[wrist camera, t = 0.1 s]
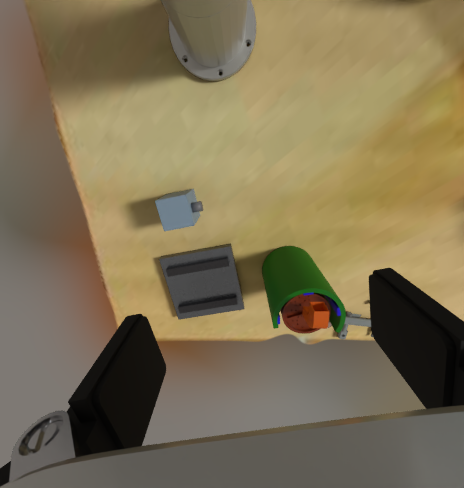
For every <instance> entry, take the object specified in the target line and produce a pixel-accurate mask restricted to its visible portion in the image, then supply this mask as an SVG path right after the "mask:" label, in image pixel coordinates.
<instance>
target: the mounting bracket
mask: <svg viewBox="0 0 464 488" xmlns="http://www.w3.org/2000/svg"><path fill="white" fill-rule="evenodd" d="M159 260H160V263H161V267H162V270H163V273H164V276H165V279H166V282H167V285H168V288H169V291H170V294H171V297H172V300H173V303H174V307H175V310H176V313H177V316H178V319H185V318H191V317H198V316H204V315H210V314H216V313H223V312H229V311H235V310H241V309H244V302H243V297H242V293H241V288H240V283H239V279H238V274H237V269H236V265H235V260H234V255H233V251H232V246H231V244H226V245H220V246H215V247H209V248H204V249H198V250H193V251H187V252H182V253H177V254H171V255H166V256H161V257H160V259H159Z"/></svg>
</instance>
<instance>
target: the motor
mask: <svg viewBox="0 0 464 488" xmlns="http://www.w3.org/2000/svg"><path fill="white" fill-rule="evenodd" d="M262 274H263V279H264V284H265V289H266V294H267V298H268V303H269V308H270V313H271V317H272V322H273V327H274V328H278V324H280V315H279V312H280V311H281V314H282V318H283V321H284V323H285V325H286V326H287V327H288V328H289V329H290V330H292V331H294V332H297V333H312V332H315V331H317V330H319V329H321V328H327V327H328V323H329V321H330V322H331V324H332V326H333V328H334V330H335V331H336V332H338V333H340V331H341V330H342V328H343V326H344V323H345V319H346V312H345V308H344V305H343V303H342V302H341V300H340V299H339V297H338V296H337V295H336V293H335V292H334V290H333V289H332V287H331V286H330V284H329V283H328V281H327V280H326V279H325V277H324V276H323V274H322V273H321V271H320V270H319V268H318V267H317V266H316V264H315V263H314V261H313V260H312V258H311V257H310V255H309V254H308V253H307V252H306V251H304V250H303V249H301V248H298V247H294V246H285V247H281V248H278V249H276V250H274V251H273V252H271V253H270V254H269V255H268V256H267V258H266V259H265V261H264V263H263V267H262ZM302 326H303V327H302Z"/></svg>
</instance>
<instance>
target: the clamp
mask: <svg viewBox="0 0 464 488" xmlns="http://www.w3.org/2000/svg"><path fill="white" fill-rule="evenodd" d="M360 316H361V315H358V314H352V313H351V312H346V319H345V323H344V326H343V328H342V330H341V331H340V333H338V337H339V338H340V339H345V338H346V335H347V332H348V331H347V327H348V324H349V325H358V326H367V327H371V319H363V318H360ZM331 326H332V324H331V322H330V321H329V323H328V328H329V327H331ZM371 337H373V335H372V334H371Z"/></svg>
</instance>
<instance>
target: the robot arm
mask: <svg viewBox="0 0 464 488" xmlns="http://www.w3.org/2000/svg"><path fill="white" fill-rule="evenodd" d="M161 2H162V4H163V6H164V8H165V10H166V12H167V14H168V16H169V35H170V40H171V44H172V47H173V50H174V52H175V54H176V56H177V58H178V59H179V61H180V62H181V64H182V65H183V66H184V67H185V68H186V69H187V70H188V71H189V72H190V73H192V74H193V75H194V76H196V77H198V78H200V79H203V80H207V81H220V80H224V79H227V78H229V77H231V76H233V75H234V74H236V73H237V72H238V71H239V70H240V69H241V68H242V67H243V66H244V65H245V63H246V62H247V60H248V59H249V57H250V54H251V52H252V50H253V46H254V42H255V36H256V18H255V12H254V8H253V5H252V2H251V0H161ZM247 44H250V46H249V47H247ZM185 59H187V60H188V61H187V62H185ZM220 72H221V73H222V75H221V76H220V75H219V73H220ZM369 293H370V314H371V331H372V335H373V337H374V339H375V340H376V342H377V343H378V344H379V346H380V347H381V349H382V350H383V351H384V353H385V354H386V355H387V357H388V358H389V359H390V361H391V362H392V363H393V365H394V366H395V367H396V369H397V370H398V371H399V373H400V374H401V375H402V377H403V378H404V379H405V381H406V382H407V383H408V385H409V386H410V387H411V389H412V390H413V391H414V393H415V394H416V396H417V397H418V398H419V400H420V401H421V402H422V404H423V405H424V406H425V407H426V409H423V410H413V411H404V412H394V413H386V414H379V415H371V416H363V417H355V418H347V419H340V420H331V421H324V422H316V423H308V424H300V425H293V426H285V427H278V428H270V429H263V430H255V431H248V432H241V433H233V434H225V435H219V436H212V437H204V438H197V439H189V440H183V441H175V442H168V443H161V444H153V445H146V446H142V443H143V440H144V437H145V434H146V431H147V428H148V425H149V422H150V419H151V416H152V413H153V410H154V407H155V404H156V401H157V397H158V395H159V392H160V388H161V385H162V382H163V379H164V376H165V373H166V364H165V362H164V359H163V356H162V354H161V351H160V349H159V346H158V344H157V341H156V339H155V336H154V334H153V331H152V329H151V326H150V324H149V321H148V319H147V317H145V316H144V317H143V315H142V314H136V315H131V316H127V317H126V318H125V319H124V321H123V322H122V324H121V325H120V326H119V328H118V329H117V331H116V332H115V334H114V335H113V337H112V338H111V340H110V341H109V343H108V344H107V345H106V347H105V348H104V350H103V351H102V353H101V354H100V356H99V357H98V359H97V360H96V361H95V363H94V364H93V366H92V367H91V369H90V370H89V372H88V373H87V375H86V376H85V378H84V379H83V380H82V382H81V383H80V385H79V386H78V388H77V389H76V391H75V392H74V394H73V395H72V397H71V398H70V399H69V401H68V403H69V405H70V408H69V409H68V411H67V412H65V411H55V412H52V413H49V414H47V415H45V416H44V417H42V418H41V419H39V420H38V421H36V422H35V423H34V424H32V425H31V426H30V427H29V428H28V429H27V430H26V431H25V432H24V433H23V434H22V435H21V437H20V438H19V439H18V441H17V442H16V444H15V446H14V448H13V451H12V456H11V461H10V462H9V463H7V464H6V465H4V466H3V467H2V468H0V488H464V321H462V320H461V319H459V318H458V317H457V316H455V315H454V314H453V313H451V312H450V311H449V310H447V309H446V308H445V307H443V306H442V305H440V304H439V303H438V302H436V301H435V300H434V299H432V298H431V297H430V296H428V295H427V294H426V293H424V292H423V291H421V290H420V289H419V288H417V287H416V286H415V285H413V284H412V283H411V282H409V281H408V280H407V279H405V278H404V277H402V276H401V275H400V274H398V273H397V272H396V271H394V270H393V269H391V268H385V269H380V270H374V271H373V275H370V276H369Z"/></svg>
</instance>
